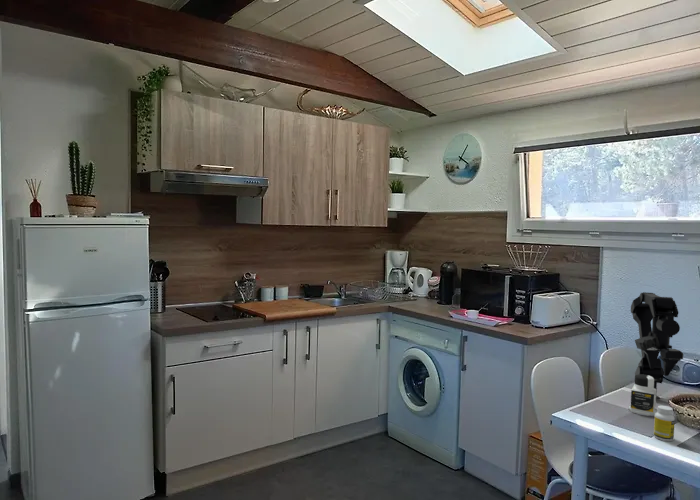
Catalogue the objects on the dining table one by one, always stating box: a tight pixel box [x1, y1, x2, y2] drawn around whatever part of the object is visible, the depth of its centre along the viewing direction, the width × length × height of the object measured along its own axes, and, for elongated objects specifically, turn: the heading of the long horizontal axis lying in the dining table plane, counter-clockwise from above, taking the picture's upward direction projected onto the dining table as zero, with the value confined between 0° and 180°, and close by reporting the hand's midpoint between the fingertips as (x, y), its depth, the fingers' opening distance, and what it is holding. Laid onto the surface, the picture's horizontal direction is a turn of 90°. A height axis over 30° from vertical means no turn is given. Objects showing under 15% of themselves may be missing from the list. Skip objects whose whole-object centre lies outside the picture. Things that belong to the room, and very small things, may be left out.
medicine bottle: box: [630, 374, 657, 413], centre depth 182 cm, size 7×7×12 cm
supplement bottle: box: [653, 405, 676, 442], centre depth 159 cm, size 5×5×10 cm
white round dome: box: [628, 403, 658, 417], centre depth 183 cm, size 9×9×1 cm
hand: (658, 372), depth 188 cm, fingers open, 9 cm apart
